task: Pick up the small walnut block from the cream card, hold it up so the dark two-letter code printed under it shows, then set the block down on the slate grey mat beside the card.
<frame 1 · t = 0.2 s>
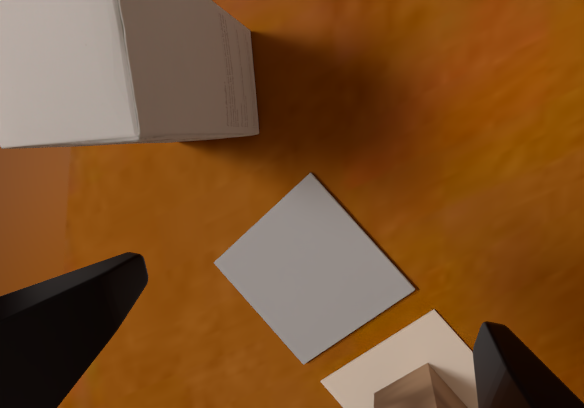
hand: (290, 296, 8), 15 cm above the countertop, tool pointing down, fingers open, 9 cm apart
walnut block: (422, 403, 24), resting on code card
grey mat: (307, 273, 25), on the countertop
supplement box: (212, 90, 24), on the countertop
code card: (422, 402, 25), on the countertop
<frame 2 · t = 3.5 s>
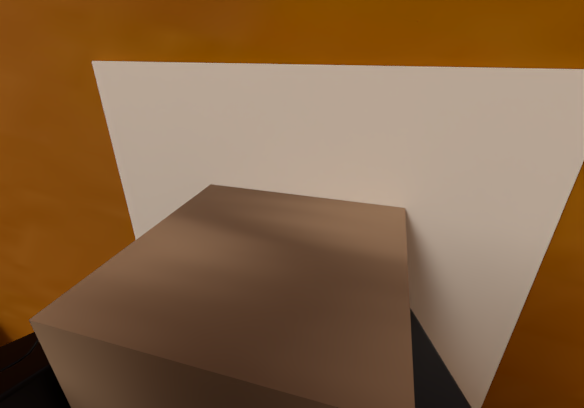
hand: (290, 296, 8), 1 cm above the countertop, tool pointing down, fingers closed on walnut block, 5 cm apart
walnut block: (299, 275, 9), resting on code card, touching gripper
code card: (300, 272, 9), on the countertop
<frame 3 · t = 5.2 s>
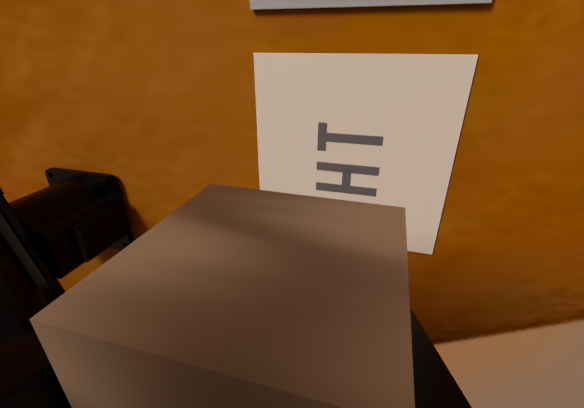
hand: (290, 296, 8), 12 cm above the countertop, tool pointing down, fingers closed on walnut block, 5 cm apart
walnut block: (299, 274, 9), point 11 cm above the countertop, touching gripper
code card: (348, 158, 19), on the countertop
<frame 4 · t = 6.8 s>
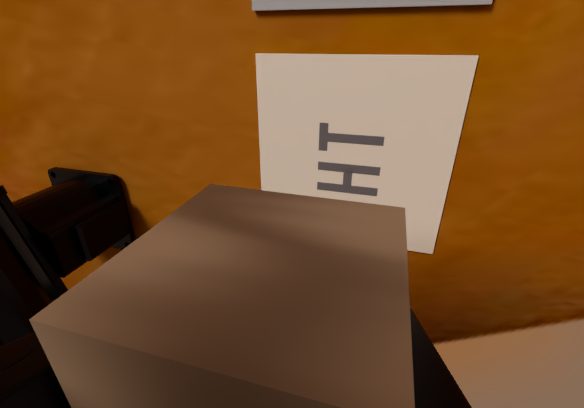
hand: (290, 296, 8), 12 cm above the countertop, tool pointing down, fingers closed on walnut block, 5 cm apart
walnut block: (299, 275, 9), point 11 cm above the countertop, touching gripper
code card: (349, 158, 19), on the countertop
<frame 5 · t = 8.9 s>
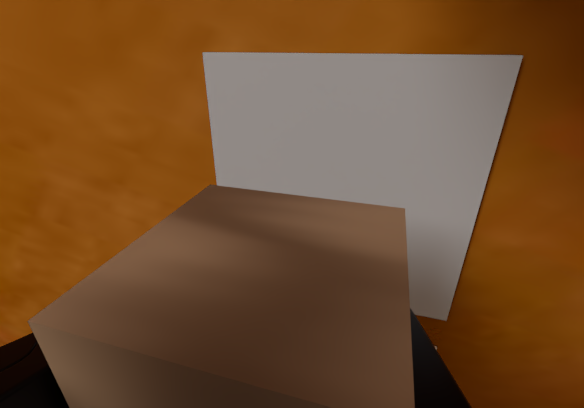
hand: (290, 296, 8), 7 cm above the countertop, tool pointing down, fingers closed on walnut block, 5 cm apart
walnut block: (299, 275, 9), point 6 cm above the countertop, touching gripper
grey mat: (335, 194, 14), on the countertop
when the fingers open (3 cm above the countertop, at t = 10.4 s): walnut block drops 1 cm, resting on grey mat.
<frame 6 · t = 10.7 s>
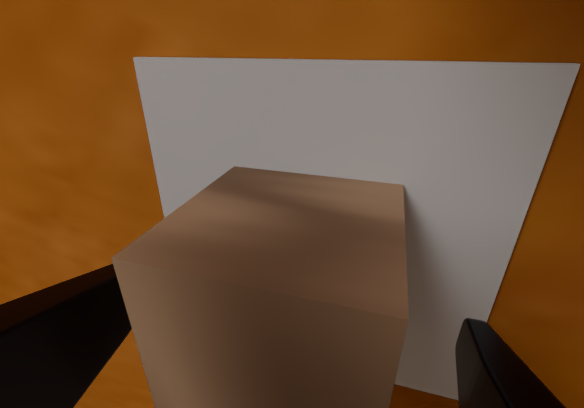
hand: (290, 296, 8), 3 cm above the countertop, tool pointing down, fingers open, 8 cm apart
walnut block: (310, 247, 11), resting on grey mat
grey mat: (314, 241, 11), on the countertop
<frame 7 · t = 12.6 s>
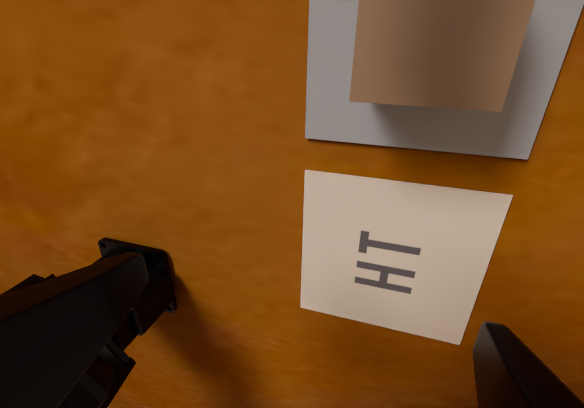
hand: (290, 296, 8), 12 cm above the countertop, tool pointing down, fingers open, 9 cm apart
walnut block: (427, 29, 14), resting on grey mat
grey mat: (428, 28, 15), on the countertop
code card: (386, 261, 21), on the countertop
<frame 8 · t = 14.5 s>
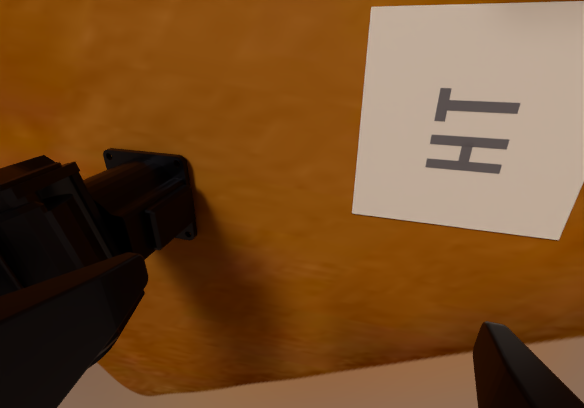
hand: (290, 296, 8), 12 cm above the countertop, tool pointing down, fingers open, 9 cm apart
code card: (470, 130, 16), on the countertop
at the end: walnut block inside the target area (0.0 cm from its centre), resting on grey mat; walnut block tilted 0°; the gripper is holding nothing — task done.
